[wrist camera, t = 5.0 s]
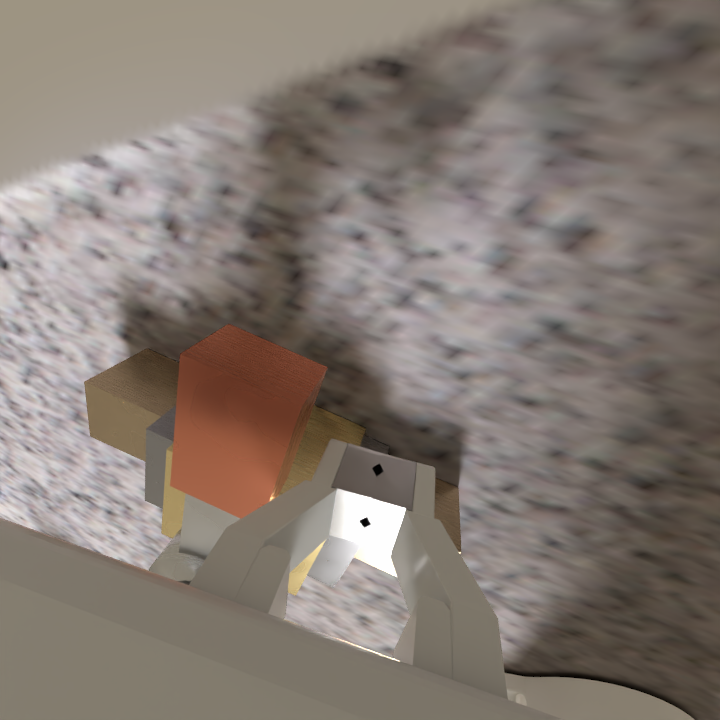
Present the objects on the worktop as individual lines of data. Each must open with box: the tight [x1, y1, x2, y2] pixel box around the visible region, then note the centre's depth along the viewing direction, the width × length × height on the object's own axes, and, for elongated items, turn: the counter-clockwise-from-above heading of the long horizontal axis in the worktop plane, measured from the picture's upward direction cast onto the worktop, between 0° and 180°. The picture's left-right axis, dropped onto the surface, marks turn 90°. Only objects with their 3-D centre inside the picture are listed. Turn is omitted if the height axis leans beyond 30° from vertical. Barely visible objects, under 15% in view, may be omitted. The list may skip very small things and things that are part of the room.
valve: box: [84, 349, 461, 596], centre depth 17 cm, size 19×6×7 cm, turn 70°
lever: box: [149, 324, 328, 585], centre depth 10 cm, size 12×4×2 cm, turn 160°
